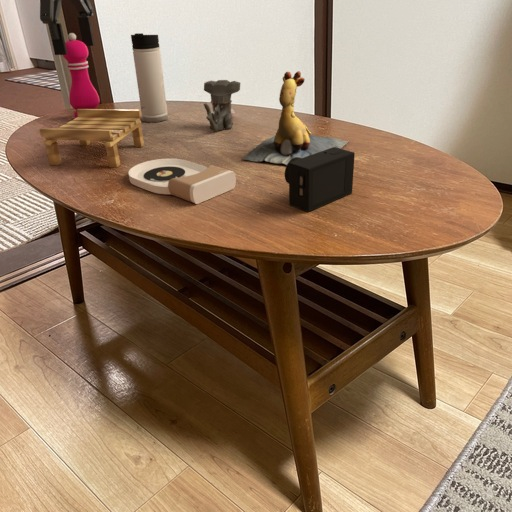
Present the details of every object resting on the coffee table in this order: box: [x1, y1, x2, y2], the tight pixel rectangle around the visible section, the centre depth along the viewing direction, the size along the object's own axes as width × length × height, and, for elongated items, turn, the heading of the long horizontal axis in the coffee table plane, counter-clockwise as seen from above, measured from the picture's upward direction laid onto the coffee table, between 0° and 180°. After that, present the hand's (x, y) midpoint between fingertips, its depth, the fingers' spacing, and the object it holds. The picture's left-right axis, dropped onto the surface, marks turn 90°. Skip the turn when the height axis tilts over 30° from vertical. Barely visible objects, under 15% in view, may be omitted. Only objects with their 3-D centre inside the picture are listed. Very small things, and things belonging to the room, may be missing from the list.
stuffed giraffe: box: [241, 70, 350, 166], centre depth 100 cm, size 16×18×16 cm
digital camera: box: [284, 147, 355, 213], centre depth 81 cm, size 10×5×7 cm, turn 131°
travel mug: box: [130, 32, 169, 123], centre depth 123 cm, size 6×7×20 cm
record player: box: [128, 158, 237, 205], centre depth 90 cm, size 12×3×20 cm
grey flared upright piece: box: [203, 79, 241, 132], centre depth 119 cm, size 14×18×10 cm
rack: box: [39, 108, 145, 169], centre depth 103 cm, size 14×15×7 cm
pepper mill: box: [62, 32, 101, 119], centre depth 126 cm, size 7×7×20 cm
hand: (75, 50), depth 123 cm, fingers open, 13 cm apart
